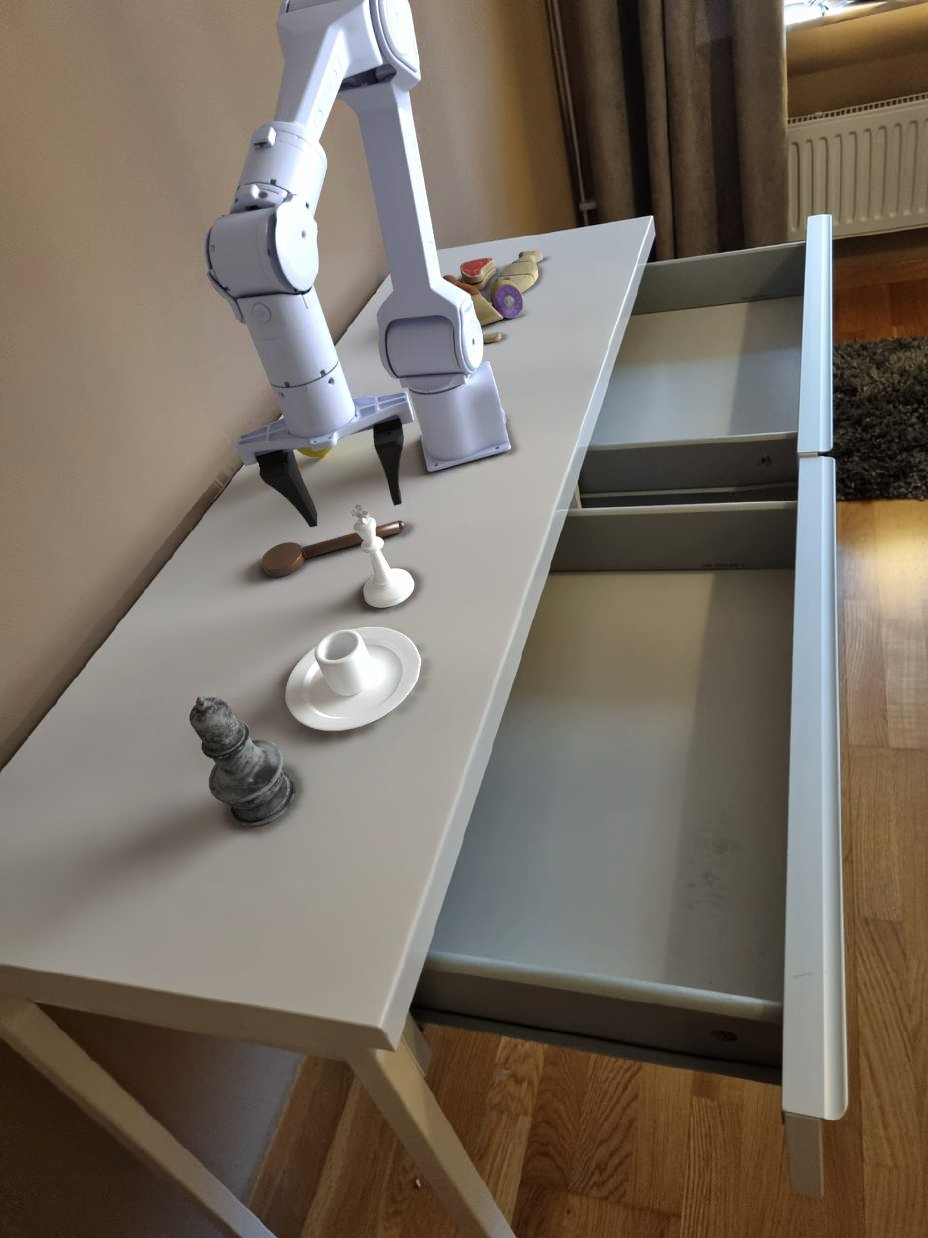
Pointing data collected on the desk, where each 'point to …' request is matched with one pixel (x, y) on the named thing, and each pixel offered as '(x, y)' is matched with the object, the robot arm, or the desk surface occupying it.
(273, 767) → the dark grey turned piece
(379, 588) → the chess piece
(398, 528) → the spoon
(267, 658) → the desk surface
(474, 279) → the toy food set
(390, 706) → the candle holder
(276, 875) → the desk surface
